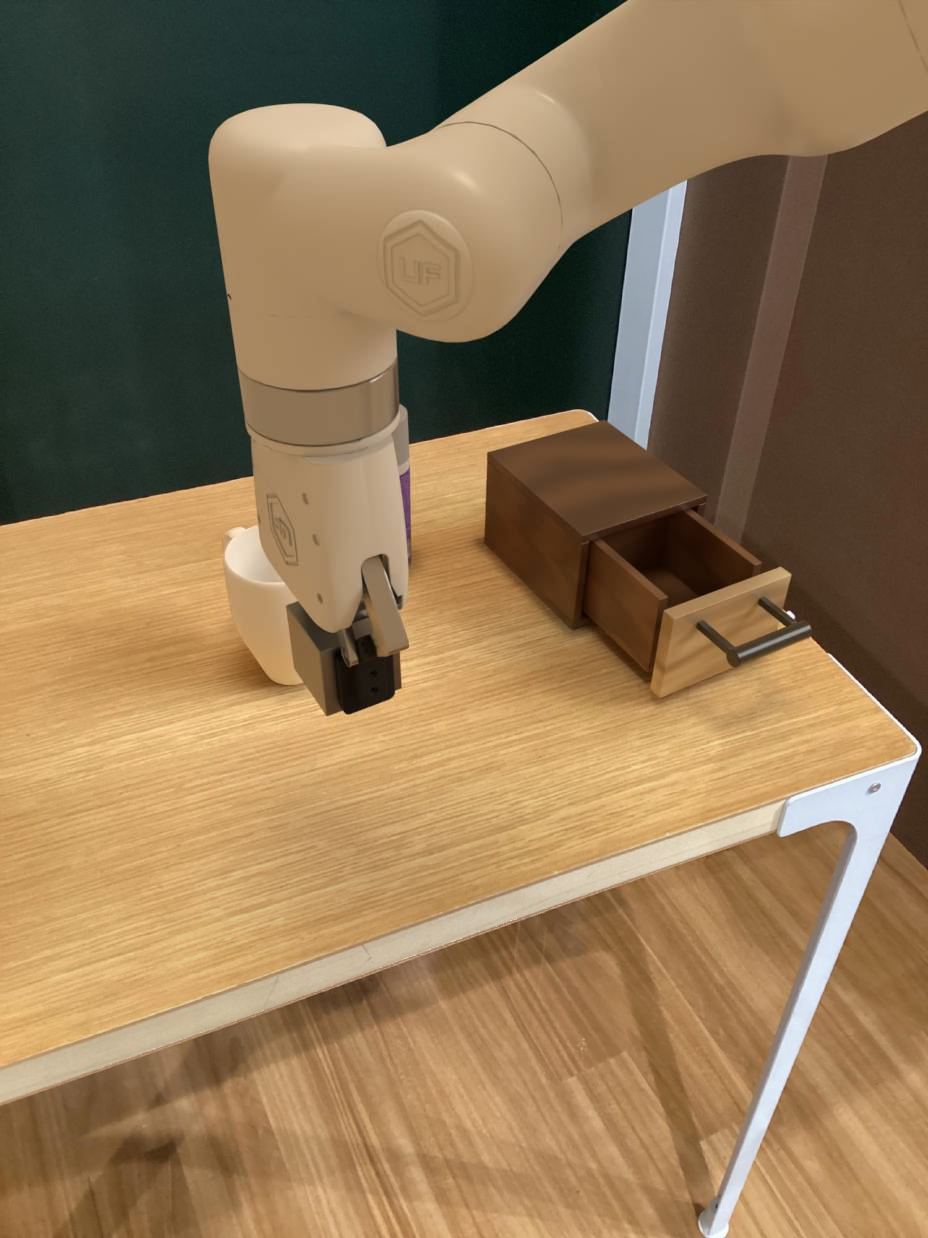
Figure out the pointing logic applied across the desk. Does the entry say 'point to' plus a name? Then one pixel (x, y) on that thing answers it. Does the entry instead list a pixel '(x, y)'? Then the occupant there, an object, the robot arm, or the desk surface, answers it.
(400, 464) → the container
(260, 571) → the mug
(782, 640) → the drawer
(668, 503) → the cabinet
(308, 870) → the desk surface
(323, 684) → the block
